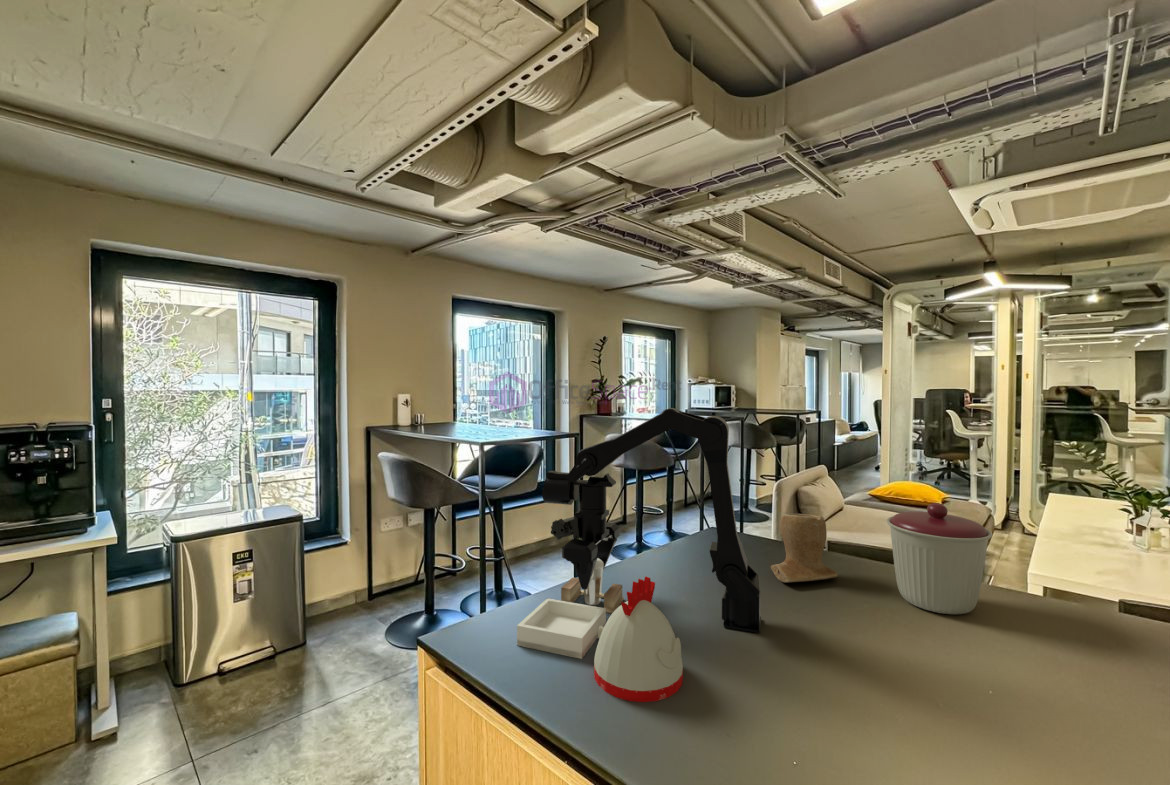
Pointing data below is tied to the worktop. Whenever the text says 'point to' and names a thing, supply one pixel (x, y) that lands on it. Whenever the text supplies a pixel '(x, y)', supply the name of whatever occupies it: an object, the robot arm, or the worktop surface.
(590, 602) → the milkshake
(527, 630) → the tray
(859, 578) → the worktop surface
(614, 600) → the wooden joined piece
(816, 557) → the tan flared pedestal
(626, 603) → the kitchen timer
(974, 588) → the canister
